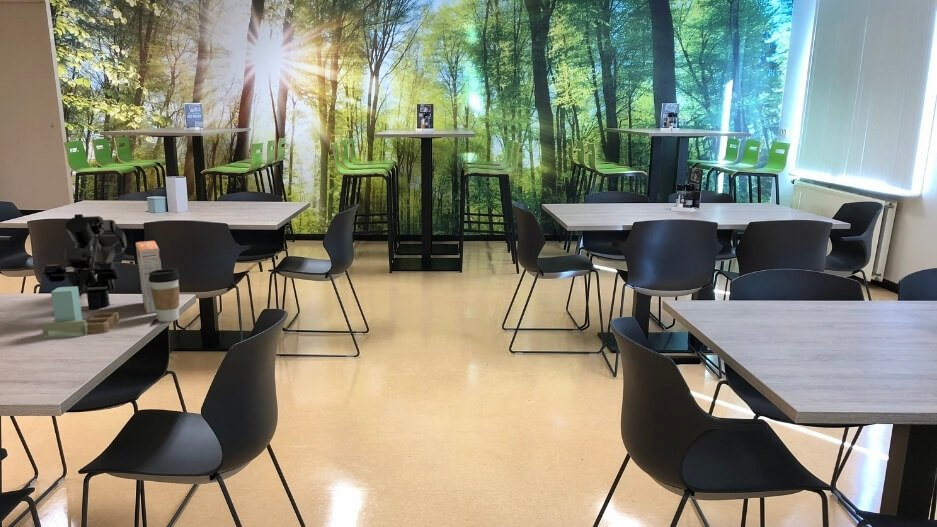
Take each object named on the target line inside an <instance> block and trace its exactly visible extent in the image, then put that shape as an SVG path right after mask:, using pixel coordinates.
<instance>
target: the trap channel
mask: <svg viewBox="0 0 937 527" xmlns="http://www.w3.org/2000/svg"><path fill="white" fill-rule="evenodd" d="M119 322H120V317H119V311H118V312H104V313H102V311H96V312H95V313H94V314H93V317H89V318H88V320H86V319H82V320H77V321H60V322H55V319H54V320H52V321H47V322H46V321H45V322H43V323H42V324H41V327H42V334H43V339H50V338H51V339H53V338H64V337H65V338H66V337H80V336H81V337H82V336H88V334H97V333H98V334H99V333H109V332H110V331H111V330H112V329H113V328H114V327H115V326H116V325H117V324H118V323H119Z"/></svg>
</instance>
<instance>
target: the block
mask: <svg viewBox="0 0 937 527" xmlns="http://www.w3.org/2000/svg"><path fill="white" fill-rule="evenodd" d="M50 295H51V304H52V307H53V308H52V310H53V315H54V316H53V317H54V320H55V322H60V321H77V320H83V314H82V313H83V312H82V307H81V299H80V298H81V297H80V298H79V290H78V286H76V287H73V286H60V287H56V288H55V289H54V290H52V291H51V292H50Z"/></svg>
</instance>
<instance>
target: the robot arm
mask: <svg viewBox="0 0 937 527" xmlns="http://www.w3.org/2000/svg"><path fill="white" fill-rule="evenodd" d="M65 229H66V230H67V232H68V234H69V236H70V238H71V240H72V242H75V247H73V248H65V249H64V261H67V265H68V267H65V268H63V267H62V266H61V264H46V265H44V267H43V269H42V274H43V275H44V277H45V278H46V279H47V280H48V282H50V283H63V281H65V280H66V279H67V281H68V282H69V283H70V284H71V285H72V287H76V286H78V290H79V298H81V296H82V295H83V294H84V293H86V296H87V298H86V299H87V306H88V310H89V311H90V310H92V311H95V310H96V311H97V310H100V309H104V308H108V307H110V306H113V305H115V304H111V302H110V294H109V292H110V291H113V290H115V283H114V280H118V279H119V277H120V271H119V269H118V267H117V266H116V263H115V262H114V259H115V257H116V256H117V255H120V254H122V253H124V251H125V250H126V248H127V245H128V241H127V237H126V234H125V232H124V230H123V229H121V228H120V227H119V226H117V223H116V221H115V220H113V219H104V218H103V217H102V216H100V215H99V216H98V215H96V216H95V215H94V216H84V215H83V214H82V213H79V214H78V213H77V214H74V217H72V218H70V219H69V220H67V222H65ZM107 232H109V233H111V232H112V233H113V234H109V235H108V234H107V235H105V234H104V233H107ZM103 234H104V235H103ZM98 249H99V250H98ZM97 251H98V252H97Z"/></svg>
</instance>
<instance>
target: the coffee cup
mask: <svg viewBox="0 0 937 527" xmlns="http://www.w3.org/2000/svg"><path fill="white" fill-rule="evenodd" d="M179 279H180V274H179V271H178V269H177V268H165V269H164V268H163V269H162V268H161V270H155V271H152V272H150V273H149V282H150V283H151V291H152V296H153V300H154V305H155V309H156V312H155V313H156V319H157V321H158V322H161V323H162V322H163V323H168V322H169V323H170V322H173V321H177V320H178V319H180V284H179Z"/></svg>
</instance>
